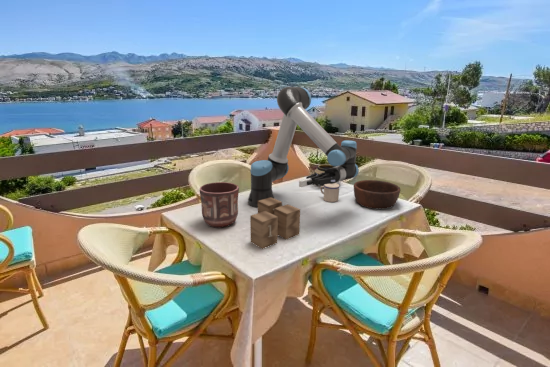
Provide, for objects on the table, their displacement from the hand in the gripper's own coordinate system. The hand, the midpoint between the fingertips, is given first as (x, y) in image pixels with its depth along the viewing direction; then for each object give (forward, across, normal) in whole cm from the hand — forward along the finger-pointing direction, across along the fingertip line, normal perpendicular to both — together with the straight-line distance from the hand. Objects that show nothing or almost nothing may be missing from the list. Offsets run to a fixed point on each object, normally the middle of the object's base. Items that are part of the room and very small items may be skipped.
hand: (300, 184), depth 139 cm
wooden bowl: (-58, -3, -22) cm, 62 cm away
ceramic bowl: (-62, +37, -22) cm, 76 cm away
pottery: (+24, +29, -22) cm, 43 cm away
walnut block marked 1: (+20, 0, -22) cm, 30 cm away
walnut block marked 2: (+7, +12, -22) cm, 26 cm away
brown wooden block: (+7, 0, -22) cm, 23 cm away
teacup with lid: (-42, +18, -22) cm, 51 cm away
